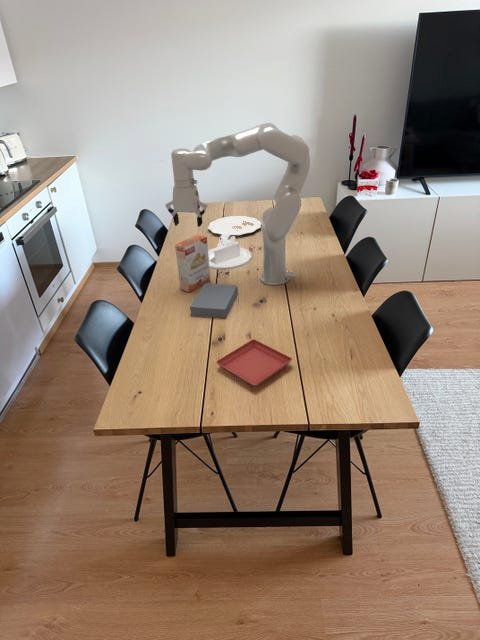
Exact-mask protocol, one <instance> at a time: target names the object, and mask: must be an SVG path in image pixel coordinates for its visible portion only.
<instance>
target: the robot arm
mask: <svg viewBox="0 0 480 640" xmlns="http://www.w3.org/2000/svg"><path fill="white" fill-rule="evenodd" d="M263 150H264V151H265V152H267V153H268V154H271V155H272V156H274V157H276V158H279V159H281V160H283V161H285V162H287V167H286V170H285V173H284V175H283V177H282V179H281V181H280V182H279V185H278V187H277V189H276V190H275V193H274V196H273V197H274V203H275V205H274V206H273V207H272V206H271V207H269V208H267V209H266V210H265V211H263V213H262V216H261V221H260V222H262V223H261V233H262V265H263V266H262V268H263V270H262V272H263V273H262V274H260V276H259V280H260V282H261V283H263V284H264V285H268V286H280V285H284V284H287V282H288V281H290V279H291V278H292V279H296V273H295V272H294V271H291V270H290V271H289V270H288V267H286V236H287V235H288V233H289V232H290V230H291V228H292V226H293V224H294V222H295V221H296V219H297V217H298V214H299V212H300V210H301V208H302V198H301V195H300V194H301V191H302V188H303V187H304V185H305V182H306V180H307V178H308V175H309V172H310V168H311V157H310V148H309V146H308V144H307V142H305V140H304V139H303V137H301V136H299V135H296V134H293V135H289V134H287V133H285V132H283V131H282V130H280V129H279V128H278V127H277V126H276V125H275V124H273V123H271V122H265V123H262V124H261V123H260V124H259V125H256V126H254V127H251V128H248V129H245V130H243V131H239V132H236V133H232V134H229V135H225V136H222V137H218V138H214V139H211V140H208V141H205V142H202V143H200V144H198V145H197V146H195V147H194V149H193V150H192V151H191V150H190V149H188V148H176V149H173V150H172V151H171V154H170V155H171V165H172V172H173V173H172V174H173V183H174V185H173V187H172V200H171V201H169V202H167V203H165V205H164V206H165V208H166V209H167V211H168V212H169V213H170V215H171V217H172V219H173V223H174V227H177V226H178V225H179V224H180V218H179V214H178V213H191V214H192V213H194V214H195V215H196V216H197V217H196V221H197V222H196V224H197V227H198V228H199V227H201V226H202V225H203V215H204V214H205V213H206V212H207V209H208V207H209V206H208V204H206V203H204V202H202V201H201V200H200V195H199V191H198V186H197V185H198V180H197V179H195V177H194V171H202V172H203V171H206V170H208V169H209V168H210V167H211V166H212V163H213V161H217V160H219V159H223V158H226V157H233V158H243V157H245V156H248V155H251V154H254V153H257V152H259V151H263ZM171 206H173V207H171ZM201 208H202V210H201Z"/></svg>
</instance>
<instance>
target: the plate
mask: <svg viewBox="0 0 480 640" xmlns="http://www.w3.org/2000/svg"><path fill="white" fill-rule="evenodd" d="M243 221H246V222H250V223H253V224H254V225H253V226H251V225H248V224H247V225H246V226H244V225H242V223H243ZM244 223H245V222H244ZM233 226H241V227H242V229H239V228H238V229H237V228H236V227H235V228H236V229H235V228H234V227H233ZM232 227H233V228H234V229H233V228H232ZM207 229H208V230H209V231H210V232H211V233H213V234H216V235H219V236H221V235H223V234H228V235H230V237H229V238H231V237H232V236H235V238H236V237H243V236H244V237H245V236H247V235H250V234H252V233H254V232H255V231H256V232H257V230H259V229H262V222H261V221H260V220H258V219H257V218H256V217H251V216H246V215H236V216H235V215H230V216H225V217H220V218H217V219H216V220H213V221H211V222H209V225H208V226H207ZM237 230H238V231H237Z"/></svg>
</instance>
